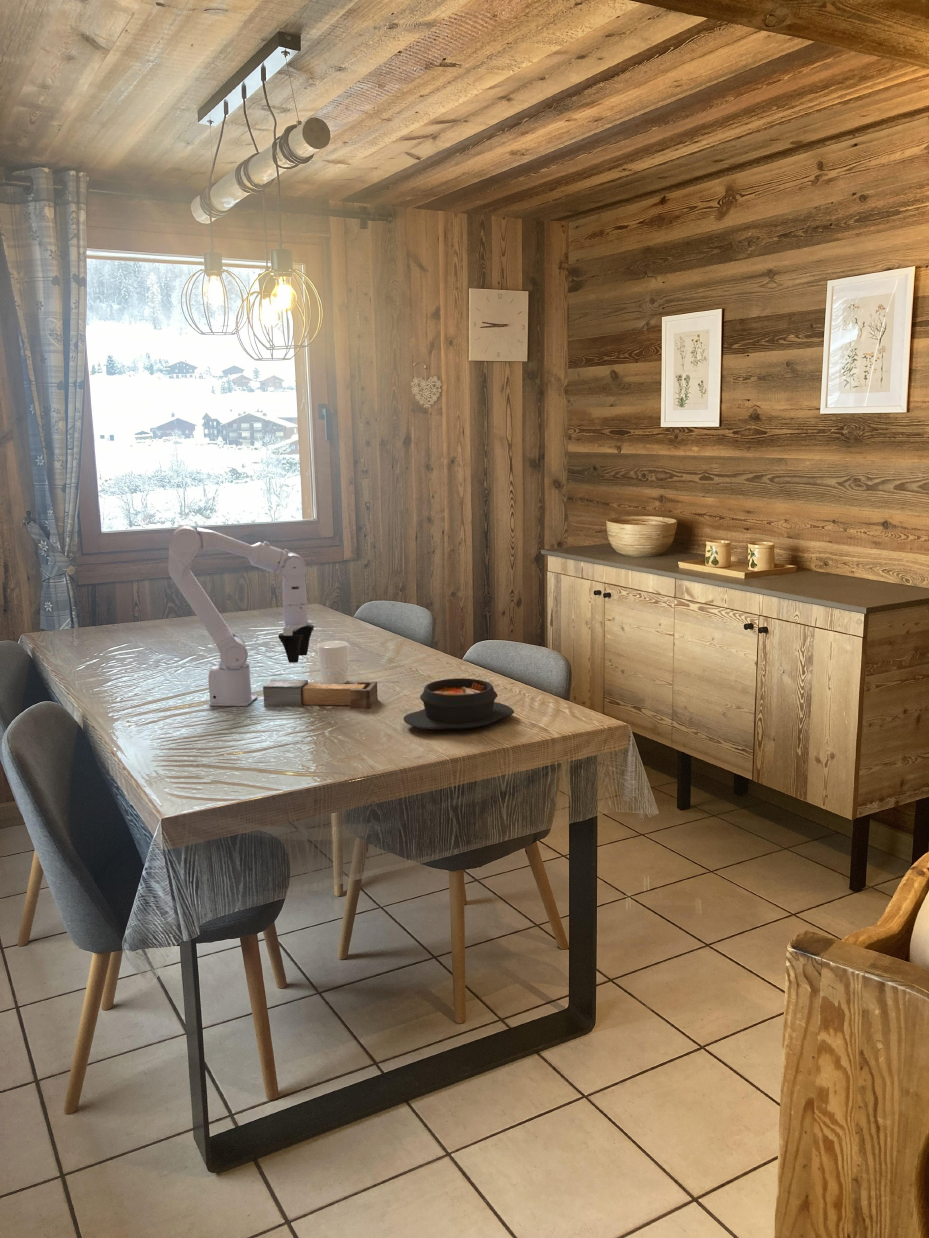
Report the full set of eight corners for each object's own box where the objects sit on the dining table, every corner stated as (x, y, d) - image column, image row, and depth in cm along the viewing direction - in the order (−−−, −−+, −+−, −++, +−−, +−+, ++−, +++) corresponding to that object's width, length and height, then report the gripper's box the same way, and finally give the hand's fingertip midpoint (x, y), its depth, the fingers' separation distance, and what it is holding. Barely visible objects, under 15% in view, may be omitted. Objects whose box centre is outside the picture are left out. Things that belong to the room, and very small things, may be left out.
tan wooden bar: (296, 704, 232) (295, 688, 231) (301, 699, 236) (300, 683, 235) (362, 705, 230) (361, 688, 229) (366, 700, 234) (365, 684, 233)
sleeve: (264, 706, 231) (263, 686, 231) (273, 698, 238) (271, 679, 237) (301, 706, 230) (300, 687, 229) (308, 699, 237) (307, 679, 236)
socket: (351, 708, 228) (350, 690, 227) (358, 699, 236) (358, 681, 235) (370, 708, 228) (369, 690, 227) (377, 699, 235) (376, 681, 234)
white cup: (321, 687, 248) (319, 648, 246) (317, 679, 256) (315, 642, 254) (352, 684, 250) (350, 646, 248) (347, 677, 258) (345, 639, 256)
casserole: (489, 705, 229) (489, 670, 227) (530, 725, 212) (529, 688, 211) (390, 721, 218) (389, 684, 216) (424, 743, 201) (423, 704, 200)
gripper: (302, 609, 228) (305, 665, 230) (319, 598, 242) (322, 652, 245) (273, 609, 229) (276, 665, 231) (291, 598, 243) (294, 651, 245)
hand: (298, 658), depth 238 cm, fingers open, 7 cm apart
